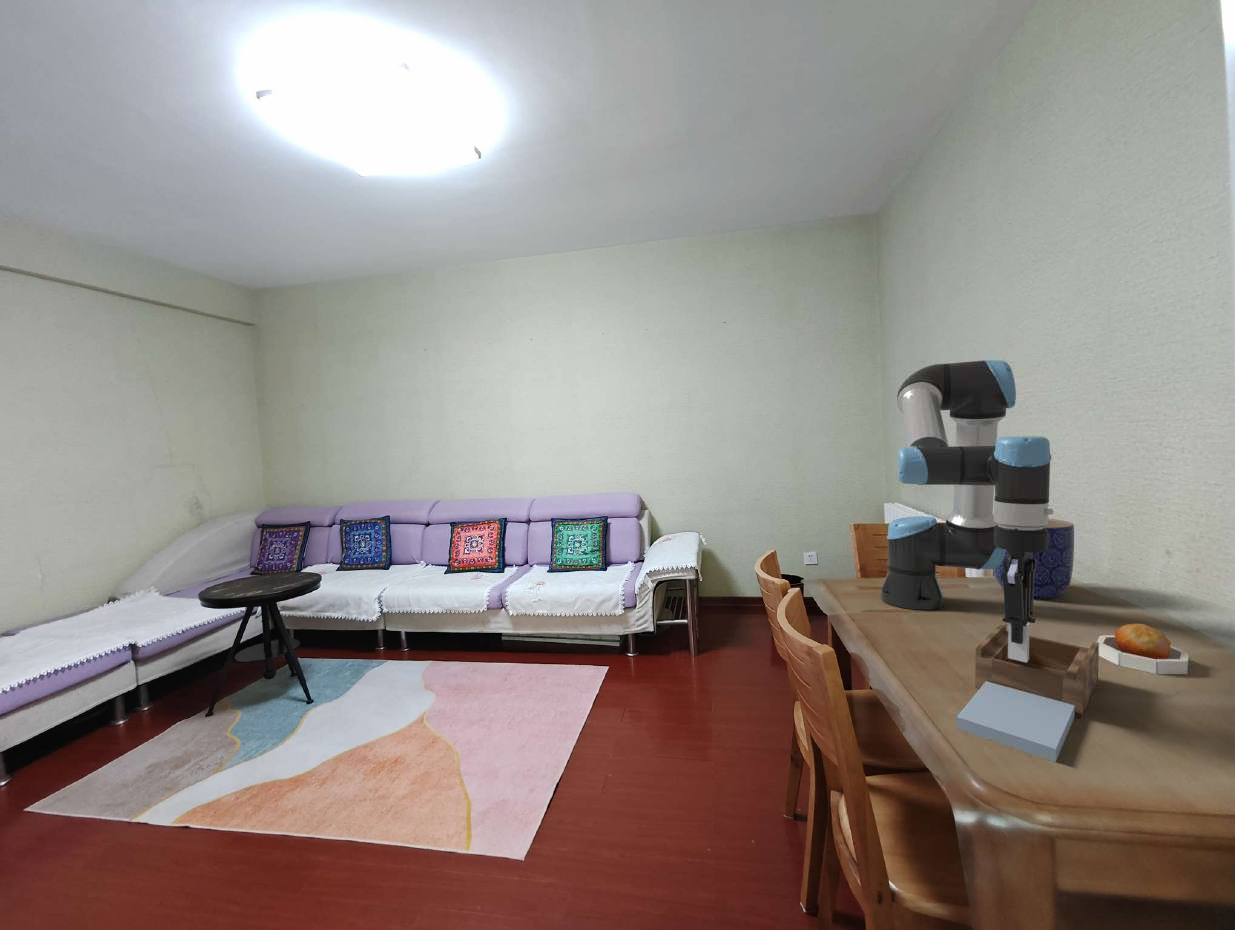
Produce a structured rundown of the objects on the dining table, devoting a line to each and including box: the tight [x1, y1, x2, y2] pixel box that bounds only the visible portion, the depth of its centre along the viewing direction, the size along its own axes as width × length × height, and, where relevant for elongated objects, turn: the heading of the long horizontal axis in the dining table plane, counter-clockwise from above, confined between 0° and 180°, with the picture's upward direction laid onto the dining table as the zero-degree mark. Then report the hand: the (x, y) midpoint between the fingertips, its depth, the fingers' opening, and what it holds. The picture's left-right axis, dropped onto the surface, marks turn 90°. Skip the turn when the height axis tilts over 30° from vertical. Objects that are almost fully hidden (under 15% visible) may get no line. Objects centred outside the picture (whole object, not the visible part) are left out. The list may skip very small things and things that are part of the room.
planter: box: [992, 517, 1075, 600], centre depth 151 cm, size 18×18×21 cm
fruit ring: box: [1096, 634, 1190, 675], centre depth 108 cm, size 13×13×2 cm
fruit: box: [1114, 623, 1172, 659], centre depth 108 cm, size 8×8×8 cm
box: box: [974, 622, 1100, 719], centre depth 99 cm, size 18×15×8 cm
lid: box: [956, 681, 1075, 763], centre depth 87 cm, size 17×12×2 cm
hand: (1018, 658), depth 93 cm, fingers closed
